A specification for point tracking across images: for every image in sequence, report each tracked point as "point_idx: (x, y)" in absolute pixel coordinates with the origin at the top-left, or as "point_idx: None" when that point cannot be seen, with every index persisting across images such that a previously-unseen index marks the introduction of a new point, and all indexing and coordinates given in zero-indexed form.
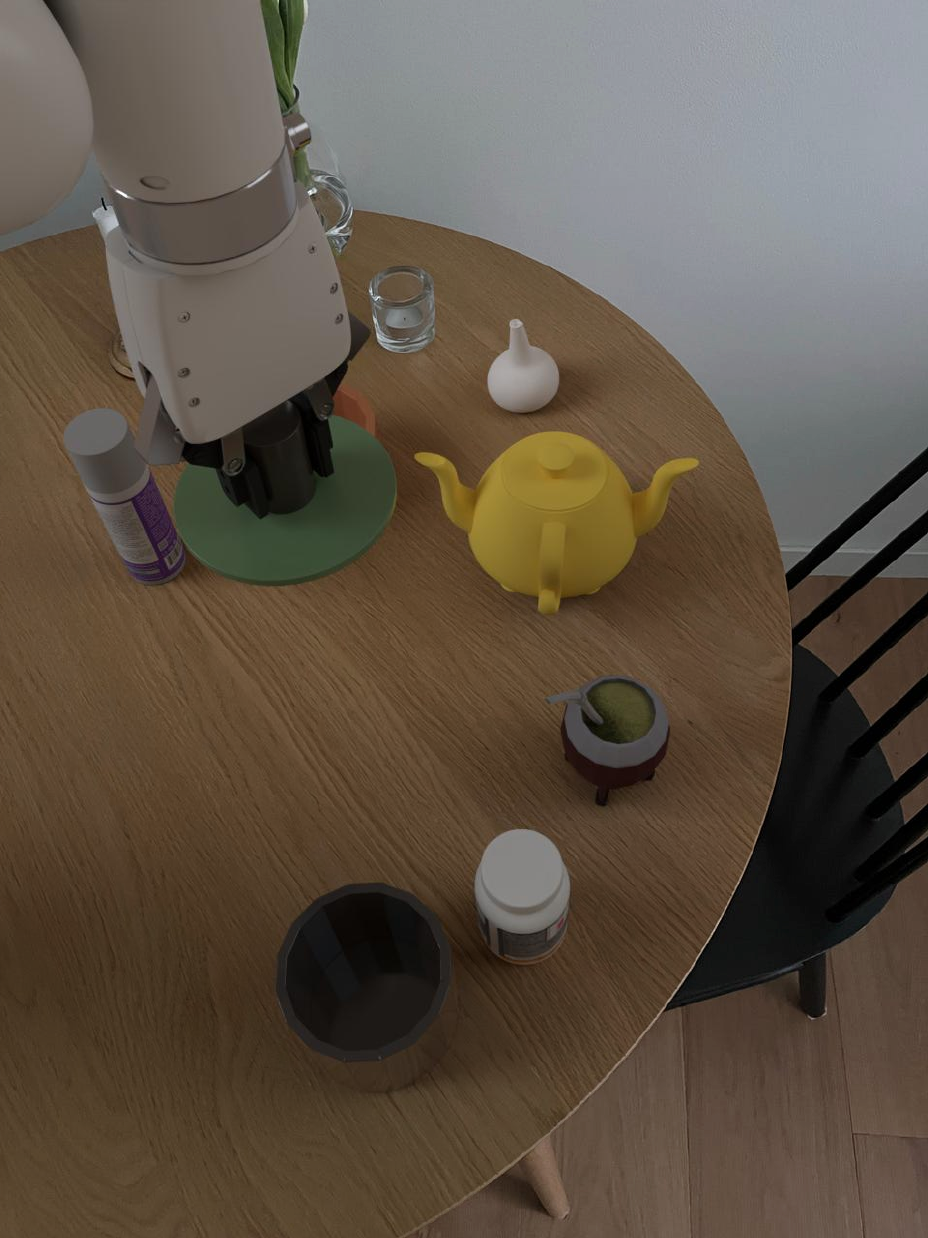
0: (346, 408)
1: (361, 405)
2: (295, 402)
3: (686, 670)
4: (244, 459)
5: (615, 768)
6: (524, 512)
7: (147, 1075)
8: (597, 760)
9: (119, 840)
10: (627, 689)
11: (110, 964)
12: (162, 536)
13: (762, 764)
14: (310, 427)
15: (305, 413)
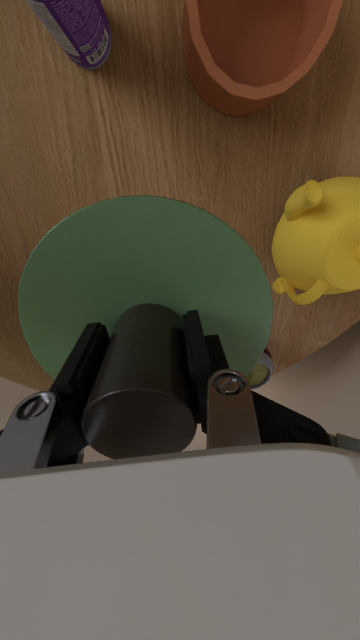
0: None
1: (334, 4)
2: (202, 411)
3: (297, 327)
4: (82, 457)
5: None
6: (318, 268)
7: (23, 348)
8: None
9: (22, 256)
10: (264, 369)
11: (12, 307)
12: (84, 41)
13: (281, 368)
14: (198, 419)
15: (202, 430)
